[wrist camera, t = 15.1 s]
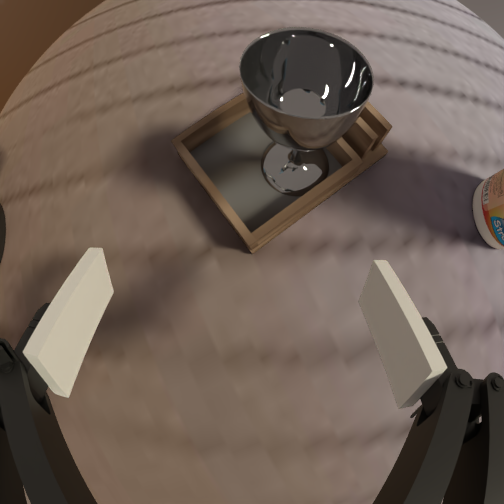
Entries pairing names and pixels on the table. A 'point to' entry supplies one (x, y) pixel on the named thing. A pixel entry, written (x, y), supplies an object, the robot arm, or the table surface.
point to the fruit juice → (490, 210)
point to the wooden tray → (250, 175)
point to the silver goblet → (303, 100)
